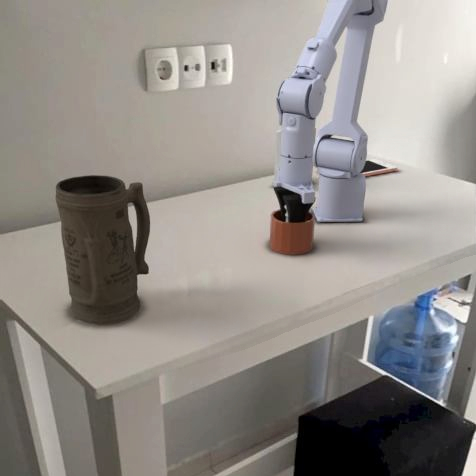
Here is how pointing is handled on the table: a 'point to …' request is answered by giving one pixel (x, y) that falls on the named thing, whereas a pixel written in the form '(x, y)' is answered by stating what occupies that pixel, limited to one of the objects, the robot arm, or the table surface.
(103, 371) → the table surface
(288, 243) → the cup
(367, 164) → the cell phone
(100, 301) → the beer stein
